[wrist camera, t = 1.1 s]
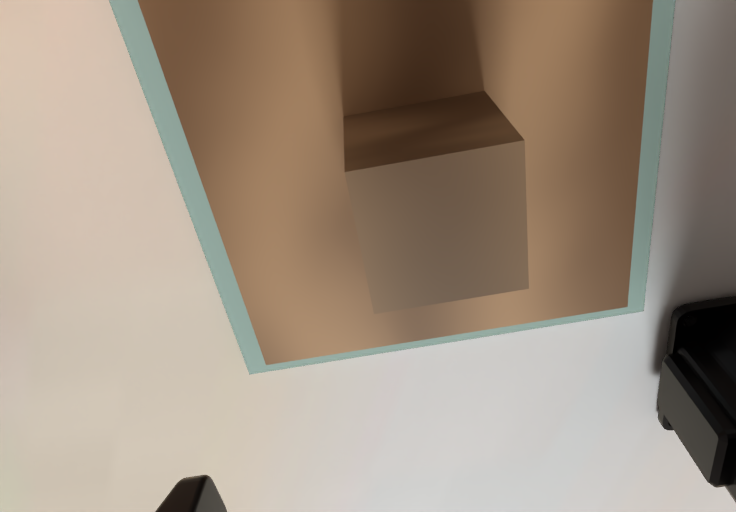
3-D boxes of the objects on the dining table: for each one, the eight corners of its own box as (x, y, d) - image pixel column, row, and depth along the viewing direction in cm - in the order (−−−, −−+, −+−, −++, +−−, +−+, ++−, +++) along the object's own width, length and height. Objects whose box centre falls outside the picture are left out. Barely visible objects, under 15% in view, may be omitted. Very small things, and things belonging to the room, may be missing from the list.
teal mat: (684, -189, 14) (695, -193, 13) (637, 303, 22) (643, 311, 21) (91, -68, 15) (83, -68, 14) (251, 365, 22) (249, 374, 22)
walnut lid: (648, -133, 14) (776, -151, 10) (617, 294, 21) (687, 388, 17) (137, -31, 15) (59, -8, 11) (268, 350, 21) (251, 455, 17)
